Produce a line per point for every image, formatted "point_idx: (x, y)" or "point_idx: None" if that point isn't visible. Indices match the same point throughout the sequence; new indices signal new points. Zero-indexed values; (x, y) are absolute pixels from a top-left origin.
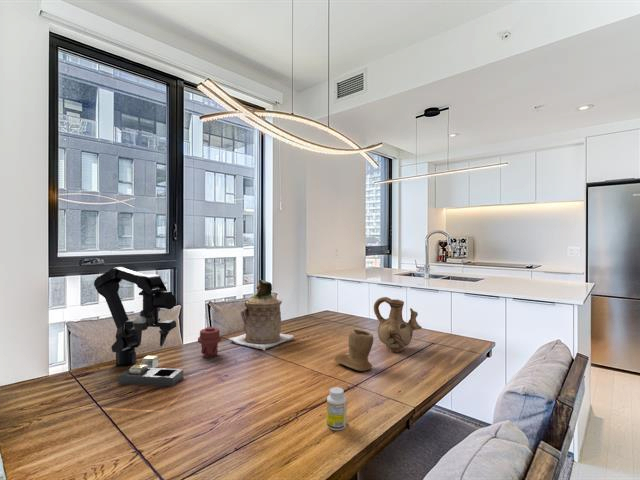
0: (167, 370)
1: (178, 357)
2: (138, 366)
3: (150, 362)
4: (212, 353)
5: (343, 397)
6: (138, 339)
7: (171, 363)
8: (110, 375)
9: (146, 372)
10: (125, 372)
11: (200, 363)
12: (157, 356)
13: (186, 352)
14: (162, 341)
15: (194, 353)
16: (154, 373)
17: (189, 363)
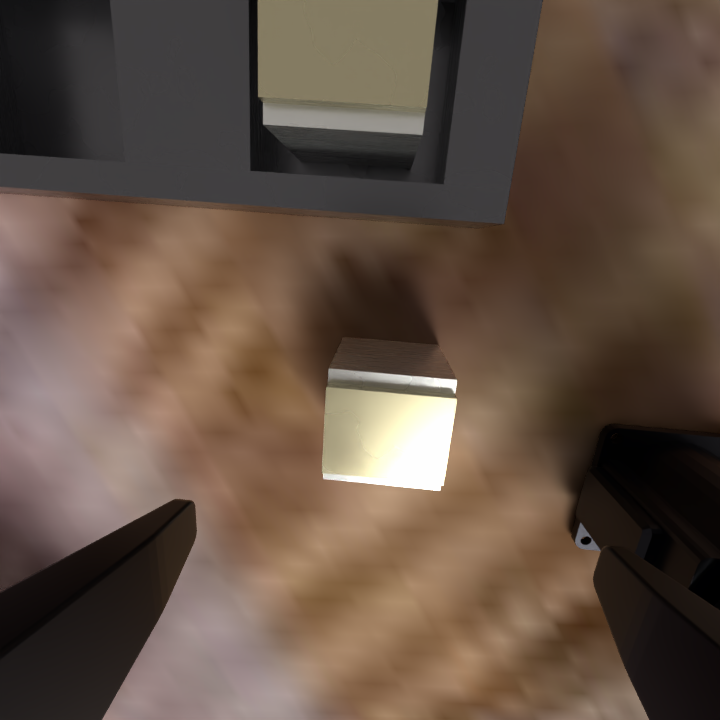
0: (62, 160)
1: (283, 610)
2: (342, 11)
3: (355, 362)
4: None
5: None
6: (708, 668)
7: (275, 504)
8: (699, 243)
9: (239, 38)
10: (510, 21)
11: (56, 501)
12: (322, 467)
13: (274, 691)
14: (69, 561)
15: (207, 672)
16: (123, 8)
17: (137, 502)
